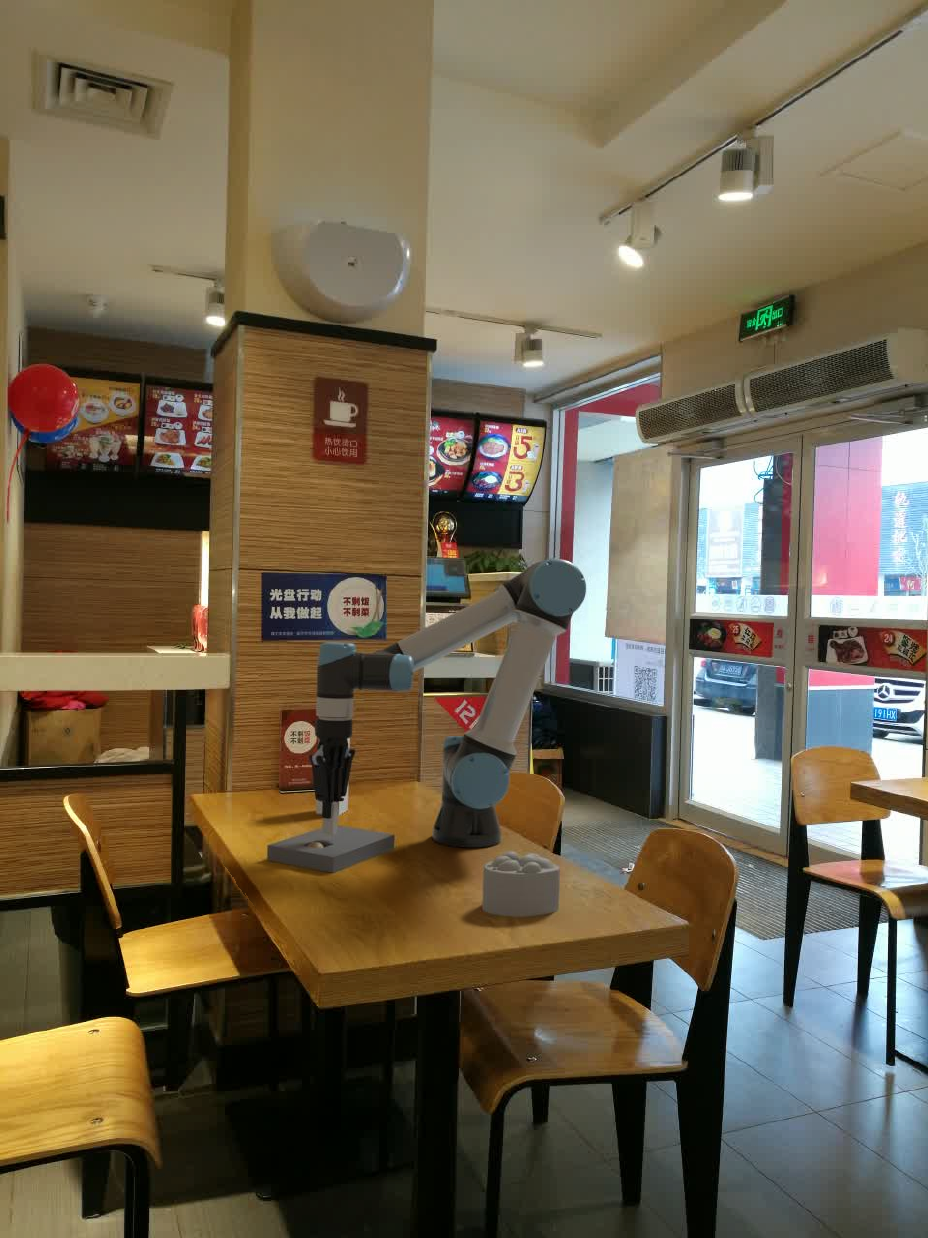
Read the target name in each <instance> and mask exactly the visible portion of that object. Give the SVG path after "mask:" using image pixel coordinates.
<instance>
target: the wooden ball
mask: <svg viewBox="0 0 928 1238" xmlns="http://www.w3.org/2000/svg"><path fill="white" fill-rule="evenodd" d="M308 847H314V848H319V849H322V848H324V847H323V845H322V844H321V843H319V842H312V843H310V844H309V845H308Z"/></svg>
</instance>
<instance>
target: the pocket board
mask: <svg viewBox="0 0 928 1238" xmlns="http://www.w3.org/2000/svg"><path fill="white" fill-rule="evenodd" d="M395 839H396V838H395V834H393V833H388V832H379V831H376V830H375V831H374V830H370V829H369V830H368V829H362V828H357V827H351V826H346V825H345V826H343V825H338V824H337V834H335V835H330V834H324V833H322V827H320V828H317V829H313V830H310V831H308V832H304V833H301V834H298V835H295V836H292V837H289V838H286V839H283V840H280V841H277V842H273V843H270V844H269V843H268V844H267V847H266V849H267V850H266V860H267V861H269V862H274V863H278V864H279V863H280V864H285V865H290V866H294V867H295V866H296V867H300V868H306V869H311V870H316V871H322V872H326V873H331V874H334V873H336V872H339V871H343V870H344V869H347V868H350V867H352V866H354V865H356V864H357V865H358V864H359V863H361V862H365V861H367V860H370V859H371V858H374V856H375V857H377V856H379V855H382V854H385V853H387V852H389V851H392V850H394V849H395ZM312 842H319V843H321V844H322V845H323V847H324V848H322V849H319V848H314V847H308V845H309V844H310V843H312Z"/></svg>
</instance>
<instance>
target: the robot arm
mask: <svg viewBox="0 0 928 1238" xmlns="http://www.w3.org/2000/svg"><path fill="white" fill-rule="evenodd" d="M586 595H587V583H586V579H585V577H584V574H583V572H582V571H581V570H580V568H579V567H578V566H576V565H575V564H574V563H572V562H570V561H569V560H565V559H562V558H556V557H554V558H553V557H552V558H548V559H545V560H542V561H539V562H535V563H534V564H531V565H530V566H528V567H527V568H526V569H524V570H523V571H521V572H520V573H518V574H517V575H516V576H514V577H512V578H511V579H509V580H507V581H505V582H504V583H502V584H500V585H499V587H498V589H497V591H496V592H494V593H491V594H489V595H488V596H486V597H484V598H483V599H480V600H478V601H476V602H474V603H472V604H471V605H468V606H466V607H464V608H463V609H460V610H458V611H456V612H453V613H451V614H450V615H448V616H446V617H444V618H442V619H440V620H438V621H436V622H434V623H432V624H430V625H428V626H426V627H425V628H422V629H419V630H418V631H416V632H414V633H412V634H410V635H408V636H406V637H405V638H403V639H401V640H399V641H396V642H395V643H392V644H391V645H389V646H387V647H384V648H383V649H379V650H378V649H377V650H376V651H375V652H372V653H363V652H358V651H357V650H356V649H357V648H356V644H354V643H352V642H338V641H330V642H329V641H327V642H326V641H325V642H323V643H321V645H319V648H318V657H317V658H318V660H317V673H316V674H317V676H316V677H317V678H316V706H315V707H316V709H315V711H316V712H315V715H316V716H317V717H318V718H316V720H315V723H314V724H315V727H314V734H315V737H317V739H318V742H319V744H318V743H317V748H316V749H317V751H316V752H315V753H314V754H310V755H309V756H308V760H309V761H310V762H309V763H310V765H311V770H312V779H313V780H312V781H313V787H314V797H315V801H317V800H318V801H322V814H321V817H322V822H321V823H322V825H321V828H322V833H324V834H330V835H335V834H337V825H338V822H339V821H338V820H339V818H338V817H339V816H338V813H339V811H338V810H339V801H344V798H341V797H342V796H346V793H347V787H348V788H349V781H350V776H351V768H352V762H353V760H354V757H355V755H356V750H355V749H353V748H349V747H348V740H347V738H350V739H351V738H352V736H353V725H354V723H353V720H352V719H351V718H352V717H354V702H355V701H354V695H355V694H354V692H355V690H359V691H360V690H363V691H364V690H368V691H390V692H395V693H396V692H408V691H410V690H411V689H412V688H413V683H414V672H416V671H418V670H420V669H422V668H424V667H426V666H429V665H430V664H432V663H435V662H437V661H438V660H440V659H442V658H444V657H446V656H448V655H450V654H452V653H454V652H457V651H458V650H460V649H462V648H464V647H466V646H469V644H472V643H474V642H476V641H478V640H480V639H481V638H484V637H486V636H487V635H490V634H493V633H494V632H496V631H497V630H500V629H502V628H503V627H506V626H508V625H511V623H515V624H516V625H515V627H514V629H513V631H512V635H511V637H510V639H509V642H508V644H507V647H506V649H505V651H504V652H505V653H504V655H503V657H502V660H501V663H500V664H499V667H498V670H497V672H496V675H495V676H494V679H493V682H492V683H491V687H490V689H489V691H488V694H487V697H486V699H485V702H484V704H483V707H482V709H481V712H480V714H479V716H478V718H477V722H476V724H475V727H473V728H471V729H469V730H466V731H465V732H464V735H462V736H461V735H460V736H459V735H457V736H456V735H452V736H451V735H449V736H446V738H444V741H443V746H442V752H443V759H442V763H443V764H442V765H443V766H442V783H441V785H442V787H441V789H442V790H441V794H442V795H441V804H440V805H441V806H440V808H439V810H438V814H437V816H436V819H435V823H434V825H433V828H432V840H433V841H435V842H436V843H438V844H442V845H445V846H450V847H457V848H459V847H460V848H484V847H485V848H486V847H489V846H490V847H491V846H494V845H497V844H500V843H501V840H502V829H501V827H500V826H501V825H500V822H499V819H498V815H497V811H496V808H495V806H496V805H497V804H498V803H500V802H501V800H503V799H504V798H505V796H506V795H507V792H508V790H509V786H510V783H511V781H510V772H511V770H512V766H513V764H514V761H515V759H516V757H517V754H518V753H517V750H516V748H515V745H514V742H515V740H516V737H517V736H518V735H517V734H518V732H519V729H520V728H521V724H522V722H523V719H524V717H525V715H526V713H527V709H528V708H529V705H530V702H531V699H532V698H533V694H534V692H535V690H536V687H537V686H538V685H537V684H538V682H539V680H540V678H541V674H542V672H543V669H544V667H545V665H546V663H547V660H548V657H549V656H550V653H551V649H552V647H553V645H554V642H555V640H556V638H557V637H558V636H559V635H561V634H563V633H566V632H567V630H568V627H569V625H570V622H571V619H572V618H573V615H574V613H575V612H576V611H578V609H579V608H580V607H581V605H582V604H583V603H584V600H585V598H586Z"/></svg>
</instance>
